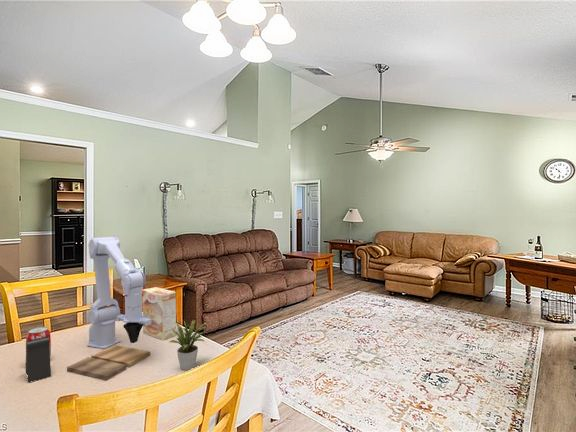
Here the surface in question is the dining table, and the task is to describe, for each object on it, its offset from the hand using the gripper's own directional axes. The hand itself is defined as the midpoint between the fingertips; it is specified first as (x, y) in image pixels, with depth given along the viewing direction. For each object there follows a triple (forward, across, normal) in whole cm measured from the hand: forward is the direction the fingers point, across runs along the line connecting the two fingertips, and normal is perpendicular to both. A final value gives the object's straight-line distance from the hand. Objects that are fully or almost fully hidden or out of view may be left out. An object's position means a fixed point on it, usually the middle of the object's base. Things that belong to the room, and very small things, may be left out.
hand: (134, 342), depth 120 cm
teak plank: (+7, -6, 0) cm, 9 cm away
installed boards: (+6, -6, -10) cm, 14 cm away
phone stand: (+7, -22, -19) cm, 30 cm away
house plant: (+7, +23, +2) cm, 24 cm away
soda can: (+7, -31, -13) cm, 34 cm away
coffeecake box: (+7, -8, +23) cm, 25 cm away
